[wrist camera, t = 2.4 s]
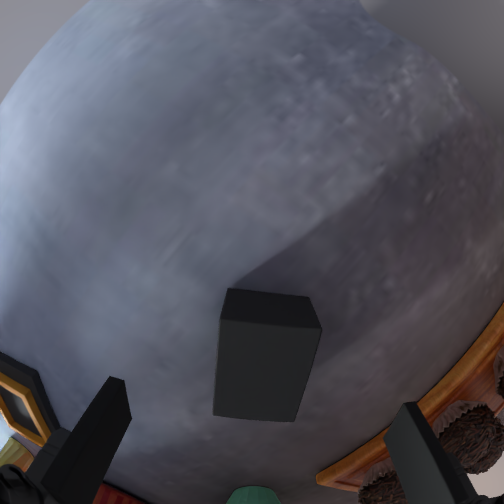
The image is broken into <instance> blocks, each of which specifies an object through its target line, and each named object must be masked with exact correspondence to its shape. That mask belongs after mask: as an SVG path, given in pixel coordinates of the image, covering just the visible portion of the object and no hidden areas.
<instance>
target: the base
mask: <svg viewBox="0 0 504 504" xmlns="http://www.w3.org/2000/svg"><path fill="white" fill-rule="evenodd" d="M0 412H1V414H2V416H3V418H4V419H5V421H6V423H7V424H8V426H9V427H10V428H11V429H13V430H14V431H16V432H17V433H19V434H20V435H22V436H23V437H25V438H27V439H28V440H30V441H31V442H33V443H35V444H36V445H38V446H40V447H43V445H44V444H45V443H46V441H47V439H48V438H49V437H50V435H51V434H52V433H53V432H54V431H56V430H57V429H59V428H61V427H60V425H59V423H58V420H57V418H56V416H55V414H54V412H53V409H52V407H51V405H50V403H49V400H48V398H47V395H46V393H45V390H44V388H43V385H42V382H41V380H40V377H39V374H38V372H37V371H36V370H34V369H32V368H30V367H28V366H26V365H24V364H22V363H20V362H18V361H16V360H14V359H13V358H11V357H9V356H7V355H5V354H4V353H2V352H0Z"/></svg>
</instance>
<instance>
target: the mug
mask: <svg viewBox="0 0 504 504" xmlns="http://www.w3.org/2000/svg"><path fill="white" fill-rule="evenodd" d="M226 504H281V503H280V501H279V500H278V498H277V496H276V495H275V493H274V491H273V490H271V489H269V488H266V487H260V486H247V487H241V488H238V489H236V490H235V491H234V492H233V493H232V495H231V497H230V498H229V500H228V501H227V503H226Z"/></svg>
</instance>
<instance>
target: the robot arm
mask: <svg viewBox="0 0 504 504" xmlns="http://www.w3.org/2000/svg"><path fill="white" fill-rule="evenodd" d="M131 420H132V416H131V412H130V407H129V403H128V398H127V392H126V387H125V381H124V380H122V379H118V378H115V377H112V376H109V378H108V379H107V380H106V382H105V383H104V385H103V386H102V388H101V389H100V390H99V392H98V393H97V395H96V396H95V398H94V399H93V401H92V402H91V403H90V405H89V406H88V408H87V409H86V411H85V412H84V414H83V415H82V417H81V418H80V420H79V421H78V423H77V424H76V426H75V427H74V429H73V430H72V432H71V431H69V430H66V429H64V428H62V427H61V428H59V429H57V430H56V431H54V432H53V433H52V434H51V435H50V437H49V438H48V439H47V441H46V443H45V444H44V445H43V447H42V449H41V450H40V451H39V453H38V454H37V456H36V457H35V458H34V460H33V461H32V463H31V465H30V466H29V468H28V469H27V471H26V472H25V473H24V472H23V471H22V470H21V468H20V467H18V466H16V465H14V464H5V465H3V466H1V467H0V504H92V503H93V501H94V499H95V496H96V494H97V492H98V490H99V488H100V485H101V483H102V481H103V479H104V477H105V474H106V472H107V470H108V468H109V466H110V464H111V461H112V459H113V457H114V455H115V453H116V451H117V449H118V447H119V445H120V442H121V440H122V438H123V436H124V434H125V432H126V430H127V428H128V426H129V424H130V422H131ZM383 440H384V442H385V445H386V447H387V450H388V452H389V455H390V457H391V460H392V462H393V465H394V467H395V470H396V472H397V475H398V477H399V480H400V483H401V485H402V488H403V491H404V493H405V496H406V499H407V501H408V504H504V494H502V495H501V496H498V497H493V498H488V497H487V496H485V495H478V494H477V493H476V491H475V489H474V487H473V485H472V483H471V481H470V480H469V478H468V476H467V474H466V473H465V470H464V469H463V467H461V466H462V465H461V463H460V462H459V460H458V458H457V457H456V456H455V455H454V454H452V453H451V452H448V453H445V451H444V449H443V447H442V445H441V444H440V442H439V440H438V438H437V437H436V435H435V433H434V432H433V430H432V428H431V426H430V425H429V423H428V421H427V420H426V418H425V416H424V415H423V413H422V411H421V410H420V408H419V406H418V405H417V403H416V402H408V403H403V405H402V407H401V409H400V410H399V412H398V414H397V416H396V417H395V419H394V421H393V422H392V424H391V426H390V427H389V429H388V430H387V432H386V434H385V435H384V437H383Z"/></svg>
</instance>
